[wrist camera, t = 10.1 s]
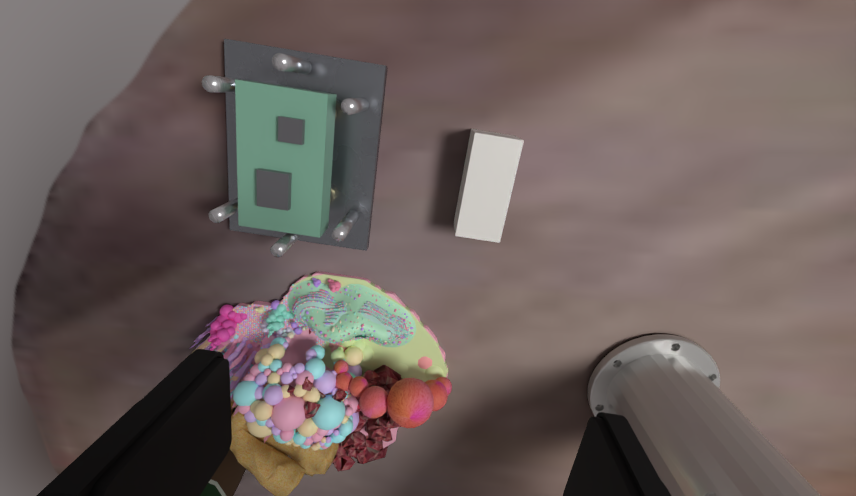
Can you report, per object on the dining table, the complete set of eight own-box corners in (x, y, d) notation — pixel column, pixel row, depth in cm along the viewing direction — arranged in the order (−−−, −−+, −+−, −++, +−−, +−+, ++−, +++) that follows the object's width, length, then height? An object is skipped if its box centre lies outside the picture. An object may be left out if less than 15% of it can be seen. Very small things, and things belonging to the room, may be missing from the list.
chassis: (368, 246, 36) (355, 274, 30) (235, 226, 35) (197, 251, 30) (387, 66, 30) (376, 60, 25) (230, 40, 30) (182, 27, 24)
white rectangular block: (493, 228, 35) (499, 242, 32) (453, 222, 35) (455, 235, 31) (514, 135, 32) (523, 140, 29) (471, 128, 32) (474, 132, 29)
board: (328, 227, 32) (317, 240, 29) (252, 216, 31) (234, 228, 29) (336, 94, 28) (325, 94, 25) (251, 80, 28) (230, 79, 25)
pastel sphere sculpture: (353, 487, 48) (334, 574, 39) (168, 395, 43) (101, 470, 34) (481, 345, 40) (493, 414, 31) (272, 214, 35) (219, 253, 27)
